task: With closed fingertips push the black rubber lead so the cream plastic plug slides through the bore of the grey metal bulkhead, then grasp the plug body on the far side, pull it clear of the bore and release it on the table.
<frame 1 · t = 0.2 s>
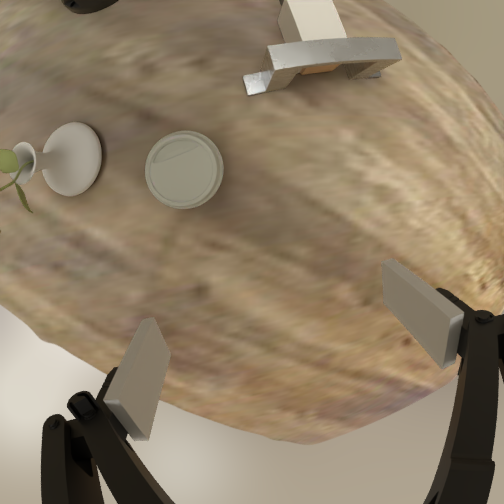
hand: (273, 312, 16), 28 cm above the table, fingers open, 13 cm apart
plug: (305, 43, 35), on the table
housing: (315, 74, 36), on the table
flower in vase: (77, 163, 38), on the table
coffee cup: (196, 167, 40), on the table
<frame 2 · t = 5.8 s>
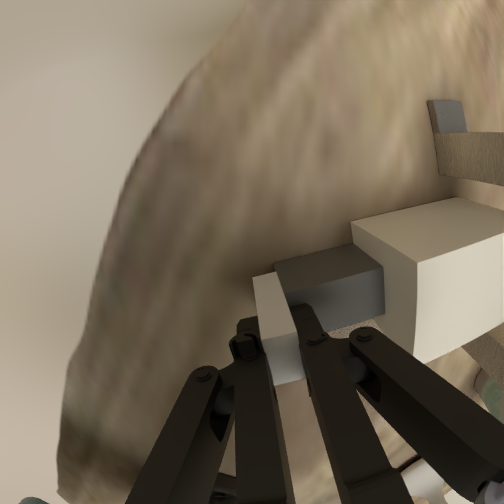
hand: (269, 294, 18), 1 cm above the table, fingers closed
plug: (412, 247, 19), on the table
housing: (456, 235, 19), on the table
flower in vase: (423, 462, 31), on the table
coffee cup: (489, 370, 25), on the table
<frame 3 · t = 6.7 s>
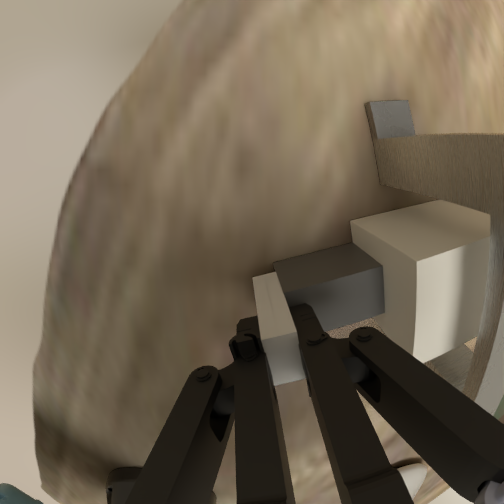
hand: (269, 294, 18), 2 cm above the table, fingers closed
plug: (412, 246, 19), on the table, touching gripper
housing: (404, 250, 19), on the table
flower in vase: (394, 474, 31), on the table
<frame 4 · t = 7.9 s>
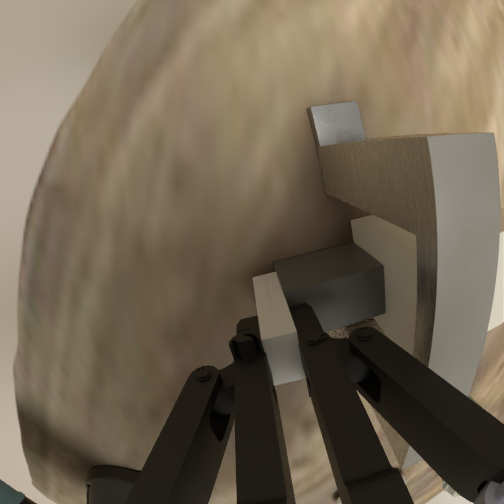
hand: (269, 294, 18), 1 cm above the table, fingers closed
plug: (413, 246, 19), on the table, touching gripper
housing: (358, 262, 19), on the table
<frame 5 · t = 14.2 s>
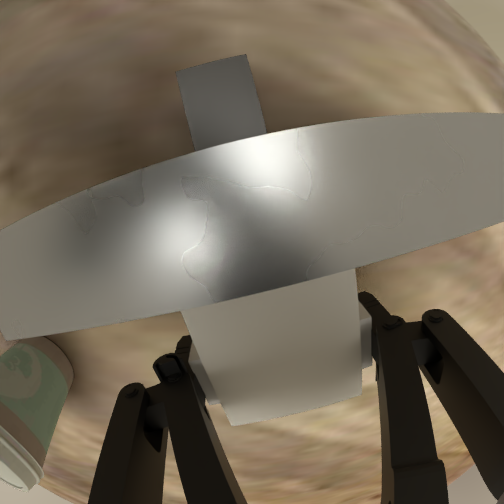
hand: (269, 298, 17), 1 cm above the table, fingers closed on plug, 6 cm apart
plug: (259, 256, 18), on the table, touching gripper
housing: (240, 179, 16), on the table
coffee cup: (47, 360, 20), on the table
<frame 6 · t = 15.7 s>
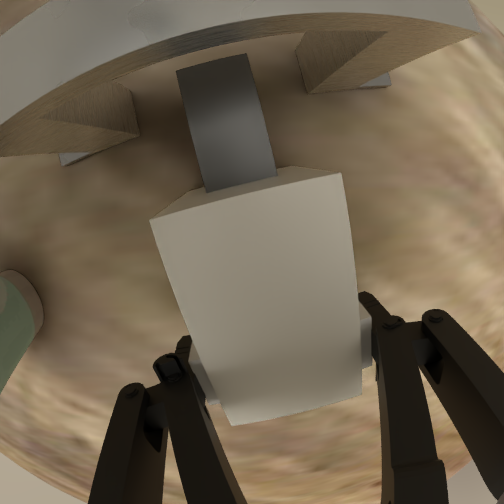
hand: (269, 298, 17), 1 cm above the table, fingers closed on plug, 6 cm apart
plug: (259, 256, 18), on the table, touching gripper
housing: (217, 87, 15), on the table
coffee cup: (19, 301, 18), on the table
when the fingers open (1 cm above the table, at t = 17.6 s): plug stays where it is, on the table.
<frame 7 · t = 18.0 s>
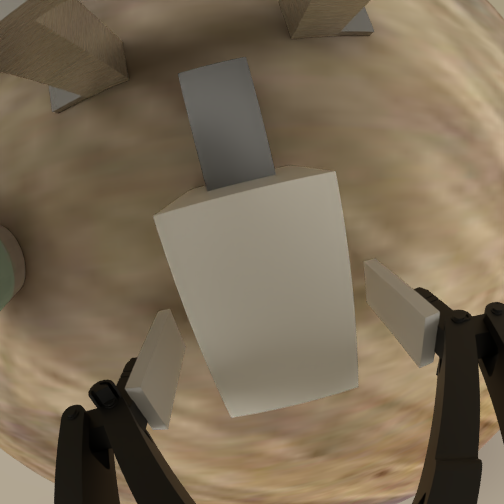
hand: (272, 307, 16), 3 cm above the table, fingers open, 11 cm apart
plug: (258, 253, 18), on the table
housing: (203, 34, 14), on the table
coffee cup: (3, 258, 17), on the table
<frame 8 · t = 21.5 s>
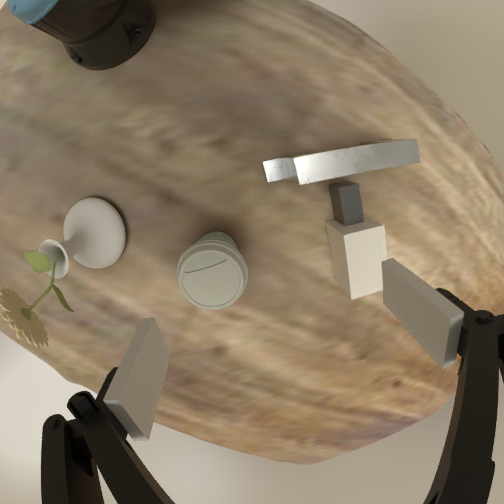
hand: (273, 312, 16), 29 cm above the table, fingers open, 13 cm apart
plug: (347, 246, 45), on the table
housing: (332, 157, 41), on the table
flower in vase: (99, 235, 43), on the table
coffee cup: (216, 249, 45), on the table
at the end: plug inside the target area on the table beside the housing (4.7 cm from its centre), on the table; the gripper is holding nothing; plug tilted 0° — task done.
